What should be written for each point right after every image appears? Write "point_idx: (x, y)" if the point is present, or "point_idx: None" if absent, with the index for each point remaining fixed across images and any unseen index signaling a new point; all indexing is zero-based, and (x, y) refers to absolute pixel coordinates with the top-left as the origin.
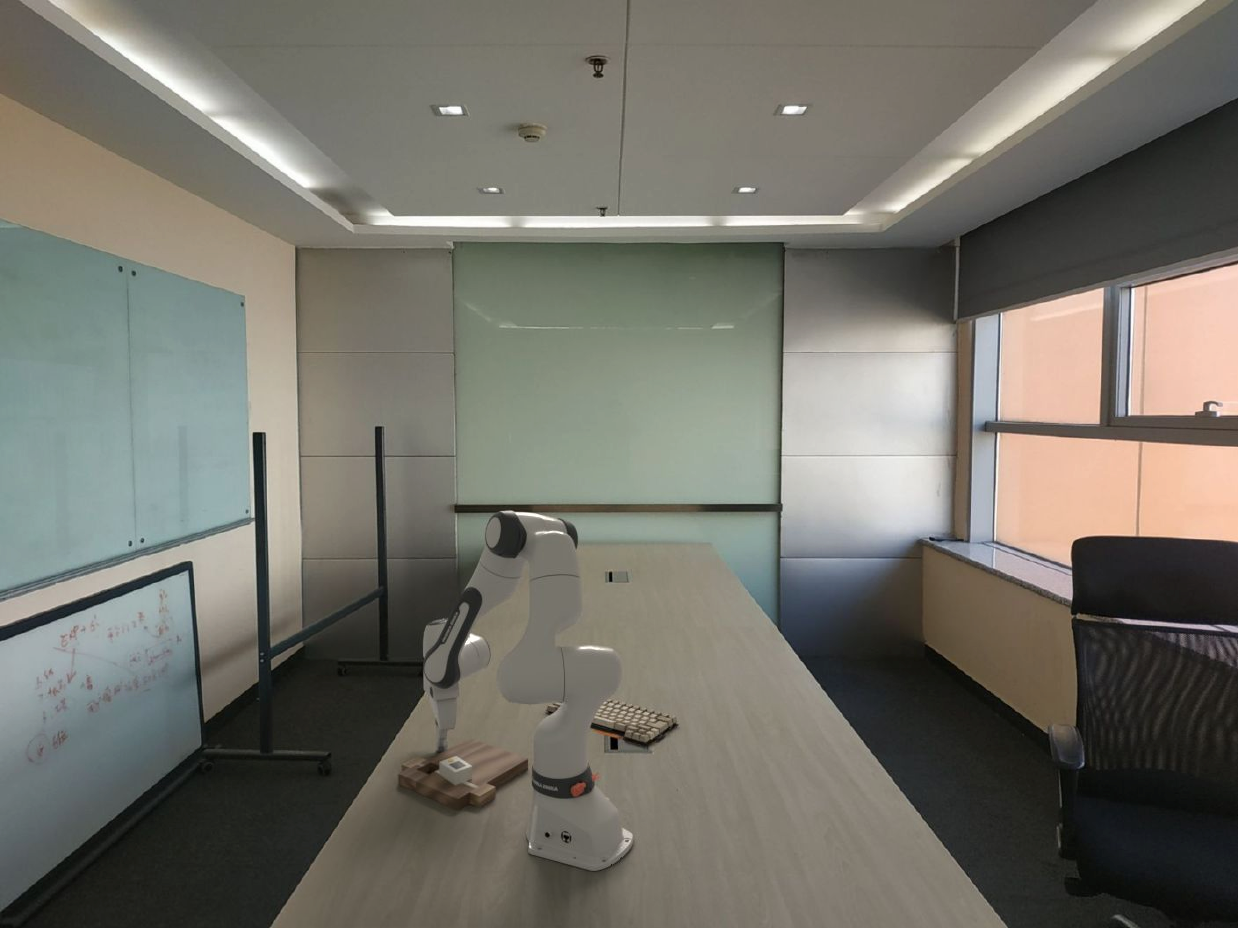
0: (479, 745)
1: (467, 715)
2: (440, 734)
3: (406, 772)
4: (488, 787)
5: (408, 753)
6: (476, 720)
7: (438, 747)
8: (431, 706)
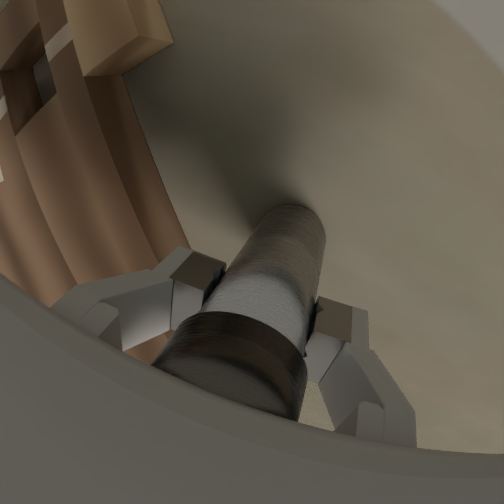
0: (131, 349)
1: (484, 436)
2: (166, 260)
3: None
4: None
5: (389, 51)
6: (432, 443)
7: (268, 216)
8: (499, 479)
